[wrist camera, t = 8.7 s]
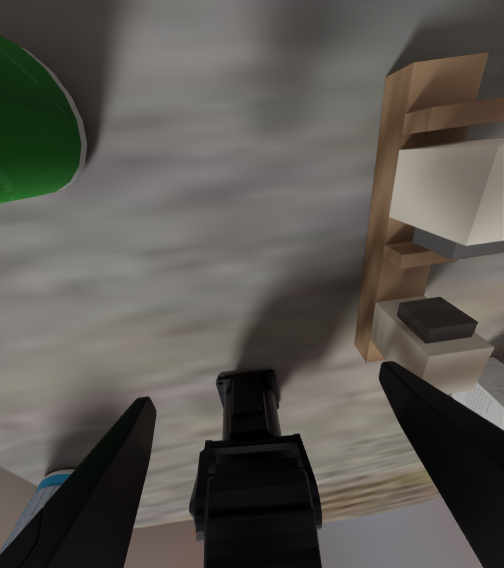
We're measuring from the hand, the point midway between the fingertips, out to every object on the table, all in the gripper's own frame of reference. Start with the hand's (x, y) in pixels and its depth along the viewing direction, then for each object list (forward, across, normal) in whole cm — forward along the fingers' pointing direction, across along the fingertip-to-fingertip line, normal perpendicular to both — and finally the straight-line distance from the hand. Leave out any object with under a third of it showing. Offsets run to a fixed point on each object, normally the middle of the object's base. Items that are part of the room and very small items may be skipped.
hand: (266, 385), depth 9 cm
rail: (+12, -12, 0) cm, 17 cm away
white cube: (+10, -12, -5) cm, 16 cm away
